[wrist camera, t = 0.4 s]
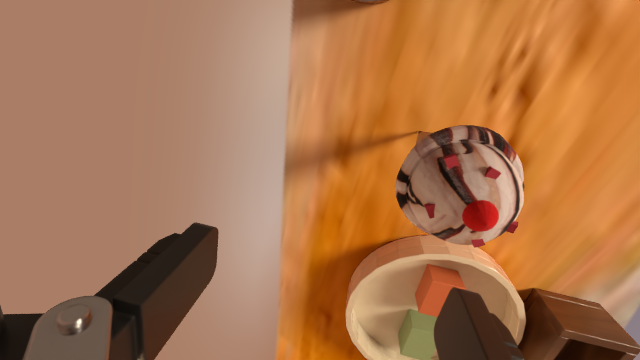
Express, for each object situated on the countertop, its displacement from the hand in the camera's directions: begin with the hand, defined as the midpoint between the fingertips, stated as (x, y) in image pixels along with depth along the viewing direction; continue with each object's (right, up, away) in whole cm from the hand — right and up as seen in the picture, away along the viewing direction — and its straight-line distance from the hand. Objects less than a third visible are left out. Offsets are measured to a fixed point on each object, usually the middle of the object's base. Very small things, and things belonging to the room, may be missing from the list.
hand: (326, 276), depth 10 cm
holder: (+22, -14, +21) cm, 33 cm away
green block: (+10, -12, +21) cm, 27 cm away
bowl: (+11, -9, +21) cm, 25 cm away
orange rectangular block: (+11, -7, +19) cm, 23 cm away
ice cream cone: (+8, +7, +15) cm, 18 cm away
